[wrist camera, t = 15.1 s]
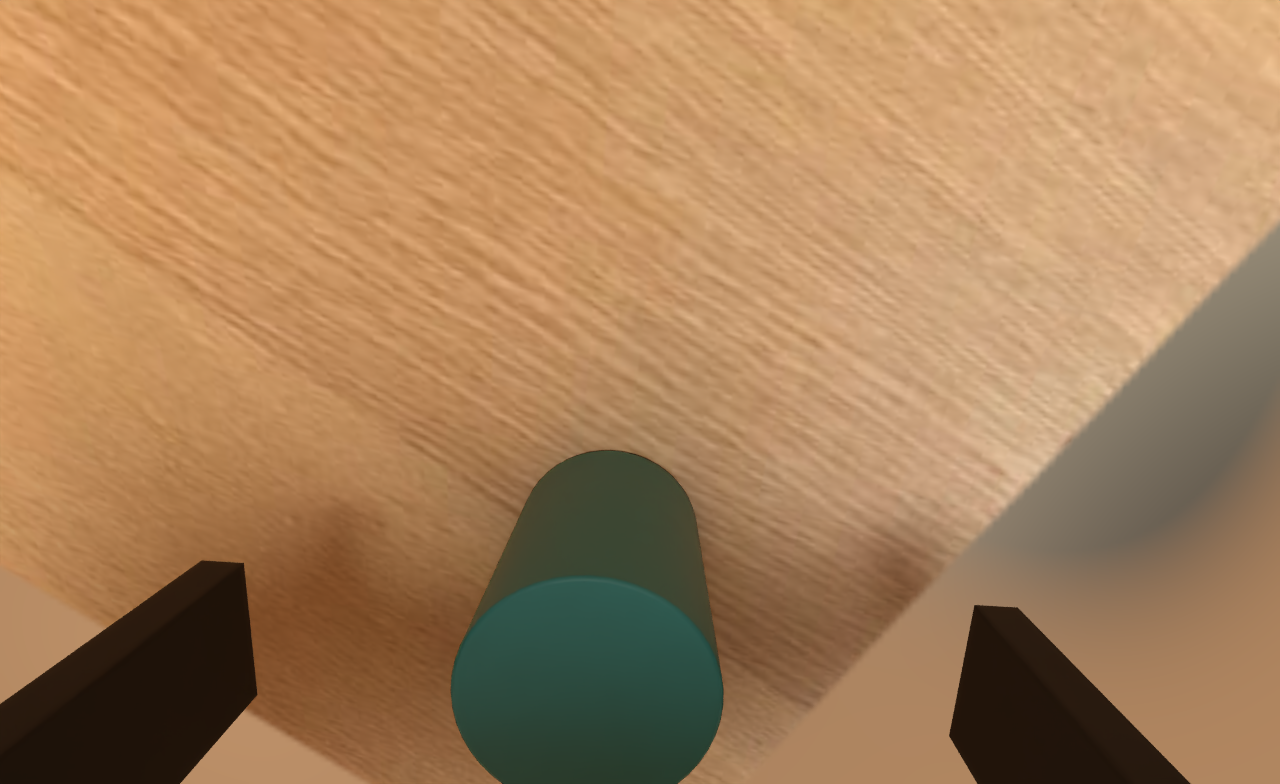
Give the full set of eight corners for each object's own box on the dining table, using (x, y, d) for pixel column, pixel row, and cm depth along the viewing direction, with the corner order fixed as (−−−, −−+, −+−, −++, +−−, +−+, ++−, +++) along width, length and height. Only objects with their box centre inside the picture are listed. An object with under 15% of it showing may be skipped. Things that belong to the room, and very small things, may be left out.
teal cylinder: (521, 606, 17) (452, 806, 11) (521, 445, 16) (445, 569, 10) (690, 615, 17) (713, 820, 11) (703, 454, 16) (736, 584, 10)
